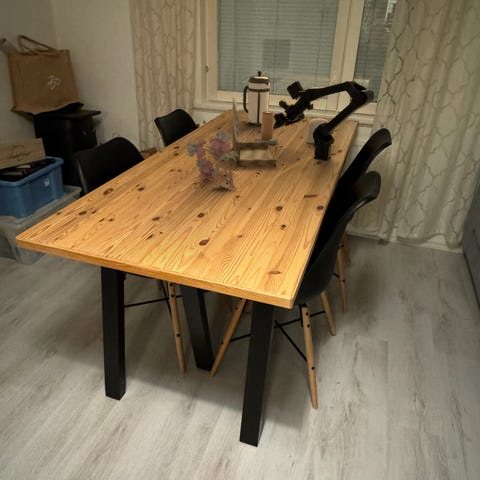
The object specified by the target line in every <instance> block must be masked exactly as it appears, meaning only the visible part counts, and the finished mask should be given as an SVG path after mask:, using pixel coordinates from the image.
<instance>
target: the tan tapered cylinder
mask: <svg viewBox="0 0 480 480" xmlns="http://www.w3.org/2000/svg"><path fill="white" fill-rule="evenodd" d="M274 115H275V112H274V111H264V112H262V123H261V127H260V129H261V131H260V136H261V139H262V140H272V138H273V136H274V135H273V134H274V133H273V132H274V129H273V126H274V121H275V119H274Z"/></svg>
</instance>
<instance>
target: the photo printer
mask: <svg viewBox="0 0 480 480" xmlns="http://www.w3.org/2000/svg"><path fill="white" fill-rule="evenodd" d="M325 122H327V123H328V122H329V120H328V119H325V118H321V117H320V118H319V117H318V118H313V119H309V122H308V130H307V138H306V139H307V140H306V142H307V143H308V144H315V143H314V139H313V132H314V131H315V130H314V129H316V128H317V127H318V126H319V125H320V124H322V123H325Z"/></svg>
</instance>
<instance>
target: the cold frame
mask: <svg viewBox="0 0 480 480" xmlns="http://www.w3.org/2000/svg"><path fill="white" fill-rule="evenodd" d="M235 98H236V97H234V96H232V151H235V152H236V153H237V154H238V155H239V157H240V158H239V157H238V156H234V155H233V156H234V158H235V160H234V163H235V167H236V168H266V167H267V168H268V167H269V168H272V167H273V168H274V167H277V160H278V159H277V158H273V156H272V154H271V151H270V149H269V145H268V141H256V142H255V141H241V139H240V136H239V128H240V126H239V125H240V124H239V117H240V116H239V111H240V110H239V107H238V104H237V101H236V99H235Z"/></svg>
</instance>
